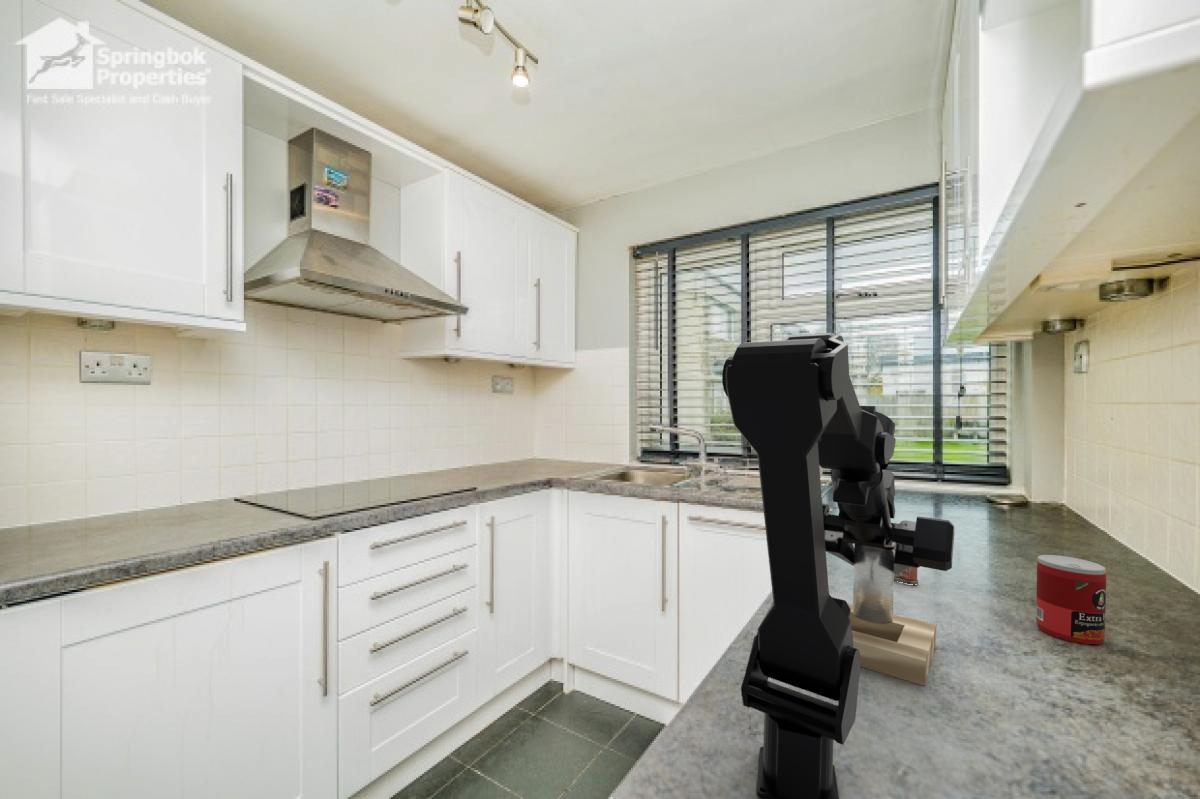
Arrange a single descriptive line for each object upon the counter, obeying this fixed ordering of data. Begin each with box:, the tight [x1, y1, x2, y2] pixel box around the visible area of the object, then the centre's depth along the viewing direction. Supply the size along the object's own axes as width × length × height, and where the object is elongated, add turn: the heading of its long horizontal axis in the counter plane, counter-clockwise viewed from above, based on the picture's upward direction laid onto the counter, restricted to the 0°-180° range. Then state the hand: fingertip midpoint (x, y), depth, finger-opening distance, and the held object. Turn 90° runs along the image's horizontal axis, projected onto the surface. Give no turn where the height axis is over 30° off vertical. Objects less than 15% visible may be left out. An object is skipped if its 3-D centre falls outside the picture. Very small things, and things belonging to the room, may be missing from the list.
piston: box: [852, 542, 896, 624], centre depth 72 cm, size 5×5×12 cm
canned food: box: [1035, 554, 1107, 646], centre depth 79 cm, size 8×8×11 cm
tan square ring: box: [847, 602, 938, 687], centre depth 72 cm, size 14×14×3 cm
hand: (875, 567), depth 73 cm, fingers closed on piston, 5 cm apart
